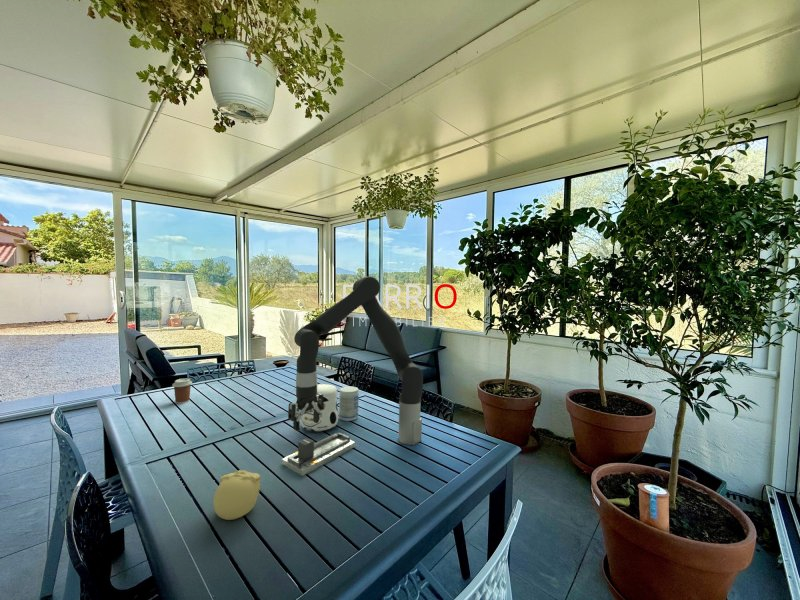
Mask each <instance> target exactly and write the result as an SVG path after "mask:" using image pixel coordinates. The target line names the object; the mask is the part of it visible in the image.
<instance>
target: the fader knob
mask: <svg viewBox="0 0 800 600" xmlns="http://www.w3.org/2000/svg"><path fill="white" fill-rule="evenodd" d="M314 443H315V441H314V440H313V439H311V438H309V437H306V438H304V439H302V440H299V441H298V443H297V446H298V448H297V451H298V458H300V459H301V460H303V461H305V460H307V459H309V458H311V457H313V456H314Z"/></svg>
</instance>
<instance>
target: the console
mask: <svg viewBox="0 0 800 600" xmlns="http://www.w3.org/2000/svg"><path fill="white" fill-rule="evenodd" d="M355 447H356V441H354V440H351V437H350V436H348V435H346V434H343V433H342V432H337V433H334V434H331V435H329V436H327V437H325V438H323V439H321V440H319V441H317V442H314V456H313V457H311V458H309V459H307V460H305V461H303V460H301V459H300V458H298V450H297V451H295V452H294V453H291V454H290V455H287V456H285V457H284V458H281V465H283V466H285V467H286V468H288V469H289V470H292V471H293V472H295V473H296V474H298V475H300V476H301V477H303V476H306V475H308V474H309V473H310V472H312V471H314V470H316V469H318V468H320V467H321V466H323V465H326V464H327V463H328V462H331V461H333V460H335V459H336V458H338V457H339V456H342V455H344V453H347V452H348V451H350V450H352V449H354V448H355Z"/></svg>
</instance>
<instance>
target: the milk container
mask: <svg viewBox="0 0 800 600" xmlns="http://www.w3.org/2000/svg"><path fill="white" fill-rule="evenodd" d="M317 394H322V395H323V399H324V409H323V410H321V411H320V413H319V422H318V423H315V422H314V421H313V412H314V411H313V409H312V410H308V411H307V412H304V414H303V415H302V416H301V418H300V424H301V427H302V428H303V429H304V430H305V431H307V432H311V433H317V432H318V433H321V432H327V431H330V430H332V429H334V428H335V427H336V426H337V424H338V422H339V418H340V417H339V409H338V405H337V404H338V391H337V387H336V386H334V385H332V384H328V383H327V384H324V383H319V384H318V383H317ZM315 404H316V405H317V400H316V403H315Z"/></svg>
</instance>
